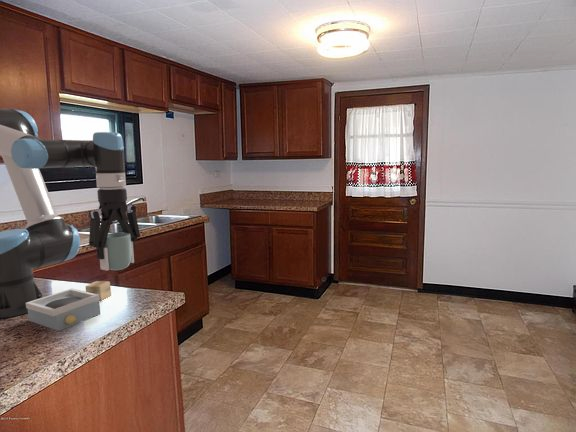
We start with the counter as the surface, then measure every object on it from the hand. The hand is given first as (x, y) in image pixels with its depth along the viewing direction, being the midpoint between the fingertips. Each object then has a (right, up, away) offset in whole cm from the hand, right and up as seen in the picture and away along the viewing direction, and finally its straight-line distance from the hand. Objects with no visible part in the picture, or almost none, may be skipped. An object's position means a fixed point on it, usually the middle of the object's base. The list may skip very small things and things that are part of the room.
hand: (117, 265), depth 113 cm
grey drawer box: (-13, -14, -4) cm, 20 cm away
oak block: (-10, -12, +10) cm, 19 cm away
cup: (0, -1, 0) cm, 1 cm away
